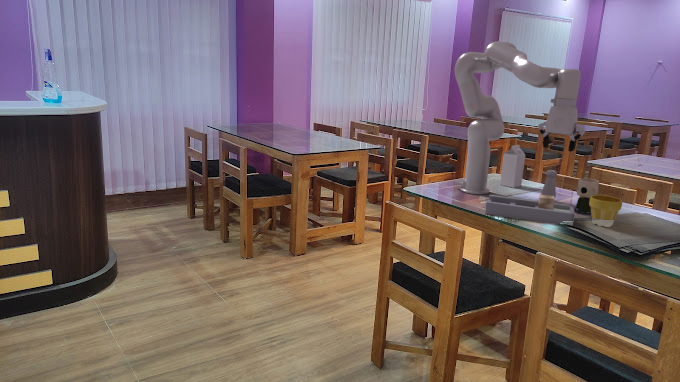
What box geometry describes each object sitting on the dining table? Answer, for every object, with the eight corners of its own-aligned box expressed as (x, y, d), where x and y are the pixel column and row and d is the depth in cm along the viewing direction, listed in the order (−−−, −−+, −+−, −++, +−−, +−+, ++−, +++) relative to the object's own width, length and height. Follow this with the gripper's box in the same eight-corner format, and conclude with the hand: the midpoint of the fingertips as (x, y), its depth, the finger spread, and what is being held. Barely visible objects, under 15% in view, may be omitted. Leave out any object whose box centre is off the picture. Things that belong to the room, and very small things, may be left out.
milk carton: (499, 185, 236) (504, 145, 231) (507, 183, 241) (512, 143, 236) (513, 188, 231) (519, 147, 226) (521, 186, 236) (526, 146, 231)
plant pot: (579, 220, 185) (583, 194, 182) (601, 219, 188) (606, 193, 186) (601, 229, 175) (606, 202, 173) (624, 228, 179) (629, 201, 176)
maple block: (537, 210, 184) (539, 197, 183) (537, 207, 189) (539, 194, 188) (552, 212, 183) (554, 199, 181) (552, 209, 187) (554, 196, 186)
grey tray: (485, 214, 188) (486, 202, 187) (488, 205, 199) (489, 194, 198) (572, 226, 177) (574, 214, 176) (570, 216, 189) (572, 205, 188)
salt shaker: (556, 203, 208) (560, 172, 205) (541, 201, 209) (546, 171, 206) (553, 199, 214) (557, 169, 210) (539, 198, 215) (543, 168, 212)
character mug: (566, 208, 201) (571, 176, 197) (582, 208, 202) (587, 176, 199) (584, 216, 190) (590, 183, 187) (601, 216, 192) (607, 183, 188)
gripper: (537, 101, 189) (531, 146, 193) (584, 105, 177) (577, 153, 181) (546, 101, 194) (540, 145, 198) (593, 105, 182) (585, 151, 186)
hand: (557, 149), depth 190 cm, fingers open, 9 cm apart
